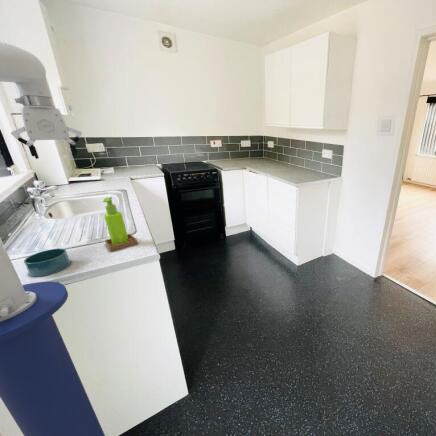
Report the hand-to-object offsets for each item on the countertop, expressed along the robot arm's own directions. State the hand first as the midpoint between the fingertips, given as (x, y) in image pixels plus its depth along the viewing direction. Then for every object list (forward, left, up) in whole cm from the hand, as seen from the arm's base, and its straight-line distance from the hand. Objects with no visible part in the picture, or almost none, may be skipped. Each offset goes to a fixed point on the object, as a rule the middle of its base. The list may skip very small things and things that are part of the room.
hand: (56, 157), depth 85 cm
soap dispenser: (-3, -11, -37) cm, 38 cm away
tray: (-3, -11, -37) cm, 39 cm away
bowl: (-7, +11, -37) cm, 39 cm away
